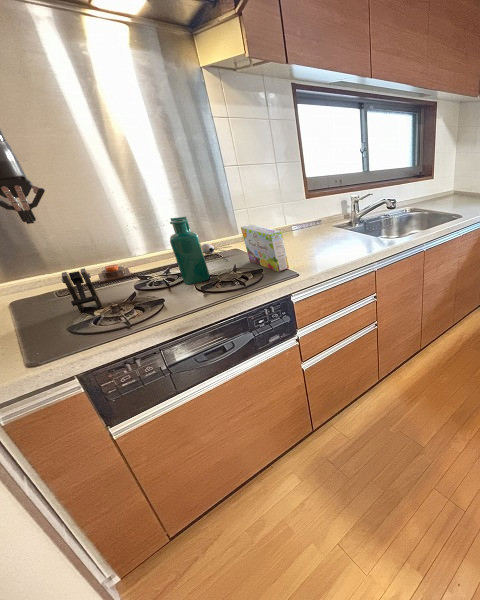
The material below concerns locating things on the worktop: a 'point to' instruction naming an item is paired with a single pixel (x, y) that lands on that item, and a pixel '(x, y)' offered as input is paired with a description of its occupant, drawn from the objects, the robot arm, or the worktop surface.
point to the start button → (111, 268)
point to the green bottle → (188, 252)
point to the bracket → (74, 293)
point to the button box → (114, 275)
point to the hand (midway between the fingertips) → (30, 223)
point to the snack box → (265, 247)
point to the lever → (80, 289)
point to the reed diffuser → (210, 249)
